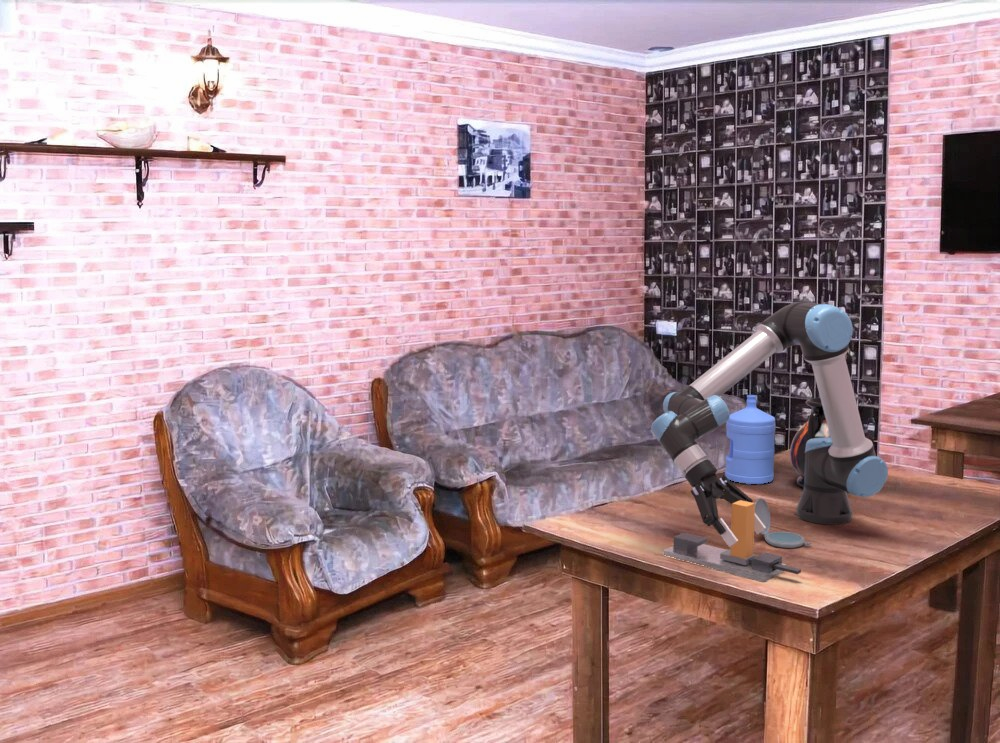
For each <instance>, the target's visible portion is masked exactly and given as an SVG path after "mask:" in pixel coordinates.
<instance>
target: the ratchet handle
mask: <svg viewBox="0 0 1000 743" xmlns="http://www.w3.org/2000/svg"><path fill="white" fill-rule="evenodd" d="M754 519H755V502H753V503H752V502H747V500H746V501H742V500H739V501H737V502H735V503H732V504H731V519H730V520H731V521H730V522H731V524H730V525H731V527H730V530H731V531H732V533H733V534H734V535H735V537H736V538H737V539H738V541H737V542H736V543H735V544H733V545H732V546H731V547H730V548H729V549H726V550H727V551H724V552H722V553H720V559H722V560H726V561H730V562H734V563H738V564H742V565H747V564H749V563H752V559H753V558H755V557H757V554H755V553H754V549H755V548H754V547H755V546H754V545H755V544H754V543H755V530H754ZM773 568H774V569H778V570H782V571H784V572H787V573H791V574H795V575H799V574H800V573H802V569H801V568H796V567H792V566H788V565H786V566H785V565H781V564H777V563H775V564H773Z"/></svg>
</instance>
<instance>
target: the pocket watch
mask: <svg viewBox="0 0 1000 743" xmlns="http://www.w3.org/2000/svg"><path fill="white" fill-rule="evenodd" d="M754 503H755V514H756V515H757V516H758V518H759V519H760V520H761V522H762V523H763V524H764V526H765V527H766V528H765V529H764V530H763V531H762V532H760V533H759V534H761V535H763V537H764V540H765V541H766V543H768V544H769V545H771V546H773V547H776V548H781V549H783V548H784V549H794V548H795V549H797V548H799V547H802V546H804V545H805V546H807V547H811V546H812V545H813V543H812V542H808V541H807V542H806V541H805V538H804V537H803V536H802V534H801V535H800V534H798V533H796V532H789V531H772V532H770V529H771V520H772V519H771V511H770V507H769V505H768V502H767V501H766V500H765V499H764V498H762V497H759V498H758V499H756V501H755V502H754Z"/></svg>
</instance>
